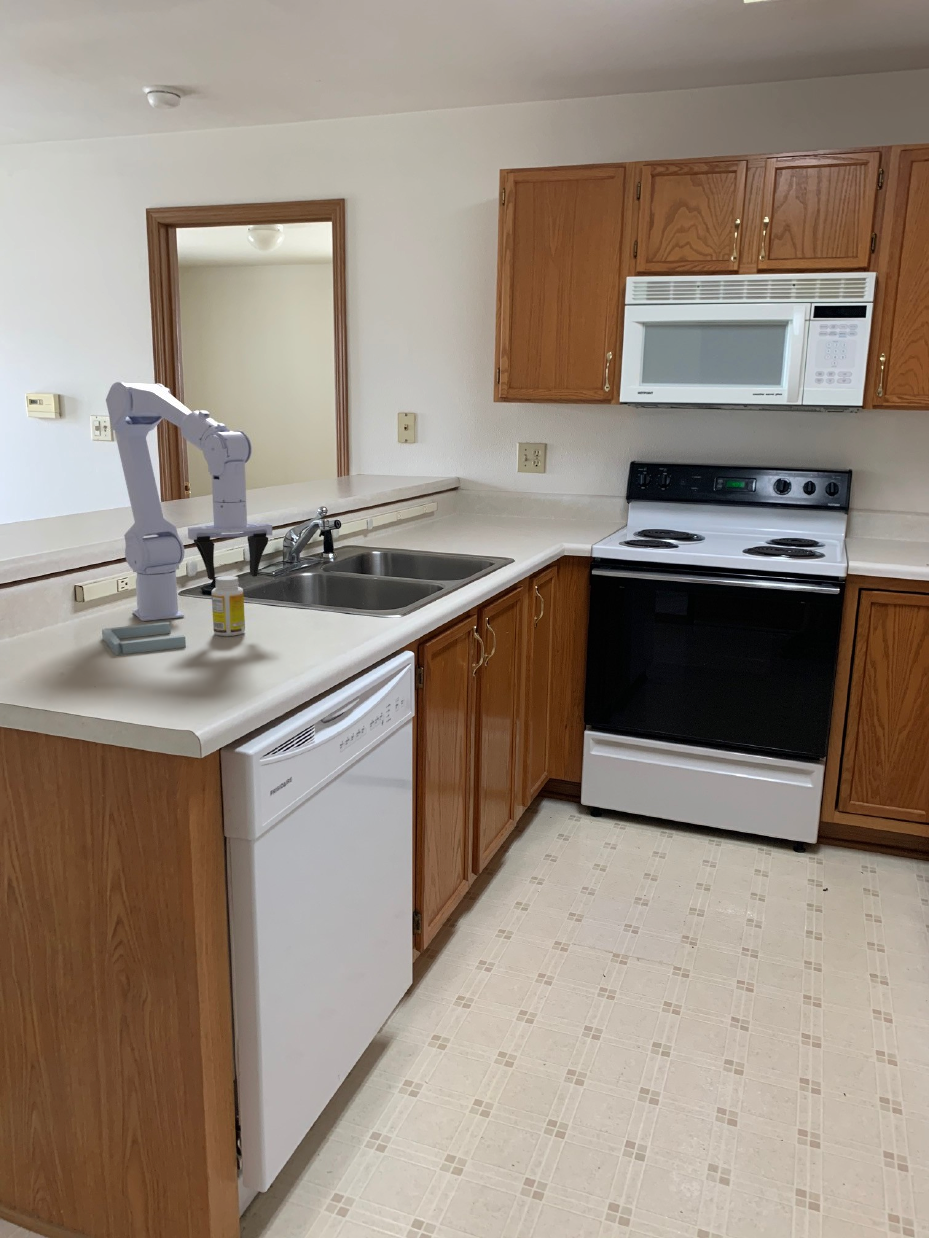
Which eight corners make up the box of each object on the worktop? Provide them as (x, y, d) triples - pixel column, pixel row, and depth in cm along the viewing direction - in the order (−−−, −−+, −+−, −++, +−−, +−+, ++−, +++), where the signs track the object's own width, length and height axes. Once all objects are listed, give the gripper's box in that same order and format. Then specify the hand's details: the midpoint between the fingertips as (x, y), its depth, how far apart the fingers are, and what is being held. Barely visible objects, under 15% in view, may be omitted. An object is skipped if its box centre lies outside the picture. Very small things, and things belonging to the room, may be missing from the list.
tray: (102, 638, 160) (101, 628, 160) (169, 631, 166) (168, 622, 166) (115, 655, 150) (114, 644, 150) (185, 646, 156) (185, 636, 155)
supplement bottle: (247, 629, 168) (244, 574, 166) (243, 636, 163) (240, 580, 161) (216, 629, 168) (213, 575, 166) (211, 637, 163) (208, 580, 160)
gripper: (193, 505, 154) (197, 584, 157) (276, 501, 161) (279, 577, 164) (183, 501, 160) (187, 577, 163) (264, 498, 167) (266, 571, 170)
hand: (232, 577), depth 164 cm, fingers open, 7 cm apart
